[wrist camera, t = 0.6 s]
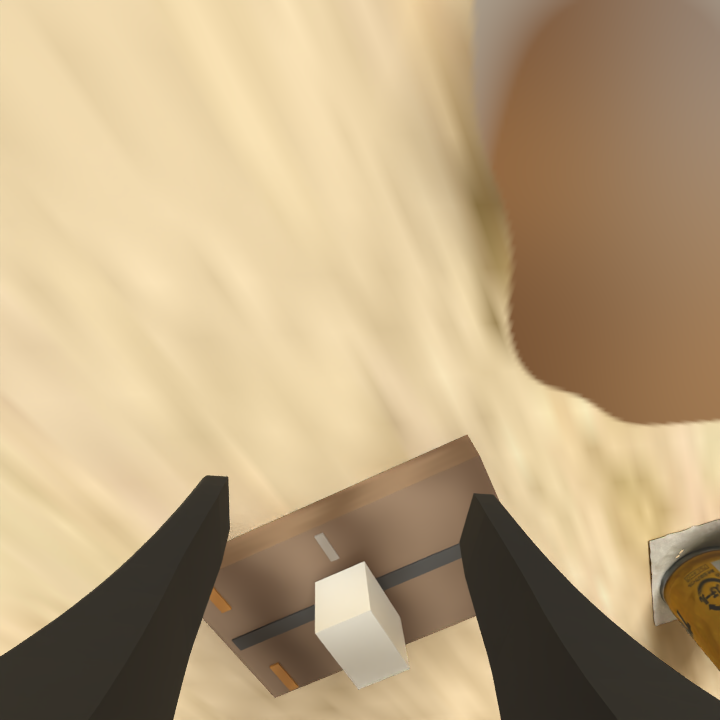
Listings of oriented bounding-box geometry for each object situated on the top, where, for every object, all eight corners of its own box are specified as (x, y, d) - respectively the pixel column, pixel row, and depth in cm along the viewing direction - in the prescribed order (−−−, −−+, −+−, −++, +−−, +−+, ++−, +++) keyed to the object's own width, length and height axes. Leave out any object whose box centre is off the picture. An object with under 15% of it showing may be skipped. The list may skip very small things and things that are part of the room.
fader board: (277, 666, 31) (274, 699, 29) (185, 560, 27) (175, 590, 25) (524, 564, 29) (538, 592, 27) (467, 434, 25) (479, 456, 23)
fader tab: (354, 636, 27) (358, 689, 24) (315, 582, 25) (314, 633, 22) (400, 617, 26) (409, 668, 24) (364, 561, 25) (370, 610, 22)
